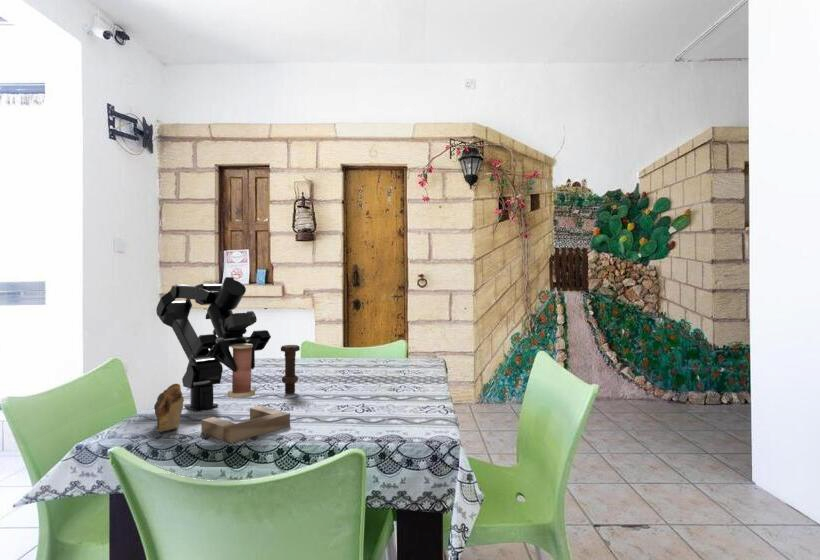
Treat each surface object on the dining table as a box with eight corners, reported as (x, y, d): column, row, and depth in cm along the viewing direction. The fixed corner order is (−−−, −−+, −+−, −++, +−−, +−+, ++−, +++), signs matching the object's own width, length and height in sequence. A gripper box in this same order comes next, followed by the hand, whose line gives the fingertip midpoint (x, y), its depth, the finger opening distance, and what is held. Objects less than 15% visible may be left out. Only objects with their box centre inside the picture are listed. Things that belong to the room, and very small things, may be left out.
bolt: (293, 395, 147) (293, 347, 147) (278, 395, 148) (278, 346, 148) (301, 391, 153) (301, 344, 153) (286, 390, 154) (287, 344, 154)
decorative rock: (185, 433, 110) (185, 387, 110) (155, 437, 107) (156, 389, 107) (180, 420, 121) (180, 377, 121) (153, 423, 118) (153, 380, 118)
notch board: (201, 432, 111) (201, 419, 111) (259, 417, 124) (260, 405, 124) (231, 443, 104) (231, 429, 104) (289, 425, 116) (290, 413, 116)
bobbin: (225, 393, 120) (226, 344, 120) (251, 390, 123) (252, 342, 123) (230, 399, 114) (231, 347, 114) (257, 396, 118) (258, 345, 118)
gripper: (198, 301, 114) (219, 353, 107) (267, 300, 128) (290, 345, 121) (184, 331, 119) (203, 382, 112) (252, 326, 133) (272, 371, 126)
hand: (244, 369), depth 118 cm, fingers closed on bobbin, 4 cm apart
